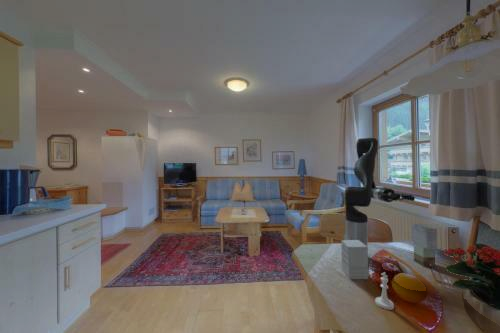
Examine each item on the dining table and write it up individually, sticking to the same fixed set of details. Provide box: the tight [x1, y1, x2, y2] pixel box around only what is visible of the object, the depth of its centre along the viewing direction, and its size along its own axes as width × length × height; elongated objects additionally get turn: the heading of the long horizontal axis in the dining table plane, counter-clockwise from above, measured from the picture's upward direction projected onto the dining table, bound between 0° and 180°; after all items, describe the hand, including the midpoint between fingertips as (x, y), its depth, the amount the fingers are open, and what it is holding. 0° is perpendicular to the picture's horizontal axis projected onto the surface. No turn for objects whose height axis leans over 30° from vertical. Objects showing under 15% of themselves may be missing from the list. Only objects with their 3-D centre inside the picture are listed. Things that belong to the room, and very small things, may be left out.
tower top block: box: [413, 243, 436, 258], centre depth 88 cm, size 5×5×4 cm
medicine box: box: [411, 223, 438, 250], centre depth 88 cm, size 8×4×9 cm, turn 1°
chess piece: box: [374, 271, 395, 310], centre depth 63 cm, size 5×5×10 cm
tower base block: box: [413, 252, 436, 268], centre depth 88 cm, size 5×5×4 cm
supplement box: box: [340, 239, 369, 280], centre depth 80 cm, size 7×7×13 cm
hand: (405, 198), depth 99 cm, fingers open, 8 cm apart
